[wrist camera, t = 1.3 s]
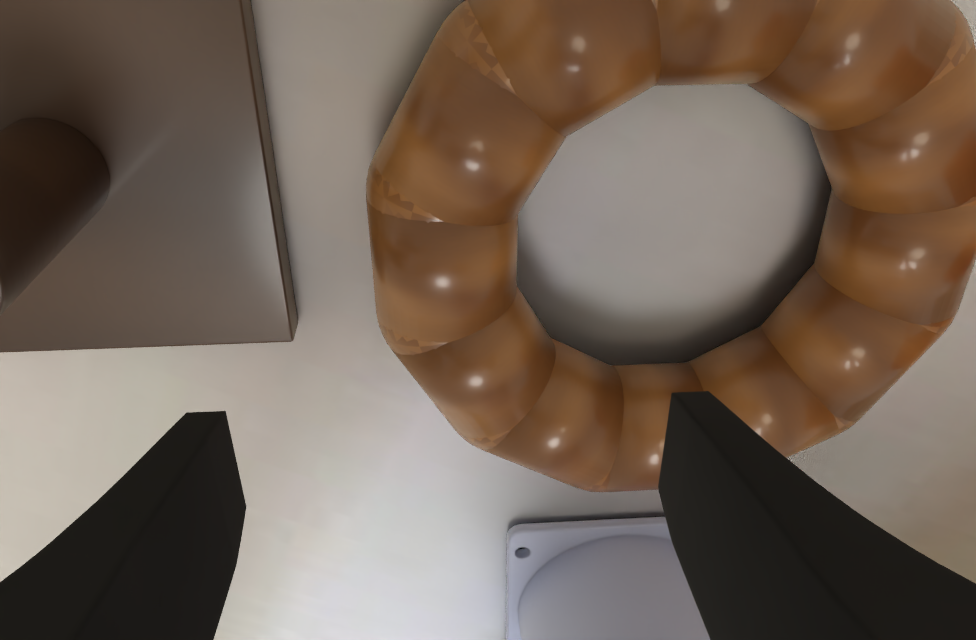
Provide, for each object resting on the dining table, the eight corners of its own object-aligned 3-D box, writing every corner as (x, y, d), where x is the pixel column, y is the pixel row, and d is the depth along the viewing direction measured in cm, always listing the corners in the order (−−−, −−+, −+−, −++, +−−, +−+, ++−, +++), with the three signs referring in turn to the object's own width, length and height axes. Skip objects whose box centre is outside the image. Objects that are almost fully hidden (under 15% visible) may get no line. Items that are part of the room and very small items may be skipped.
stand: (298, 324, 22) (255, 480, 17) (-67, 336, 22) (-240, 503, 16) (240, -69, 17) (150, -34, 11) (-239, -65, 16) (-580, -27, 11)
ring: (861, 425, 25) (921, 503, 22) (393, 446, 25) (389, 530, 22) (1022, -105, 18) (1148, -98, 15) (349, -100, 17) (331, -92, 14)
